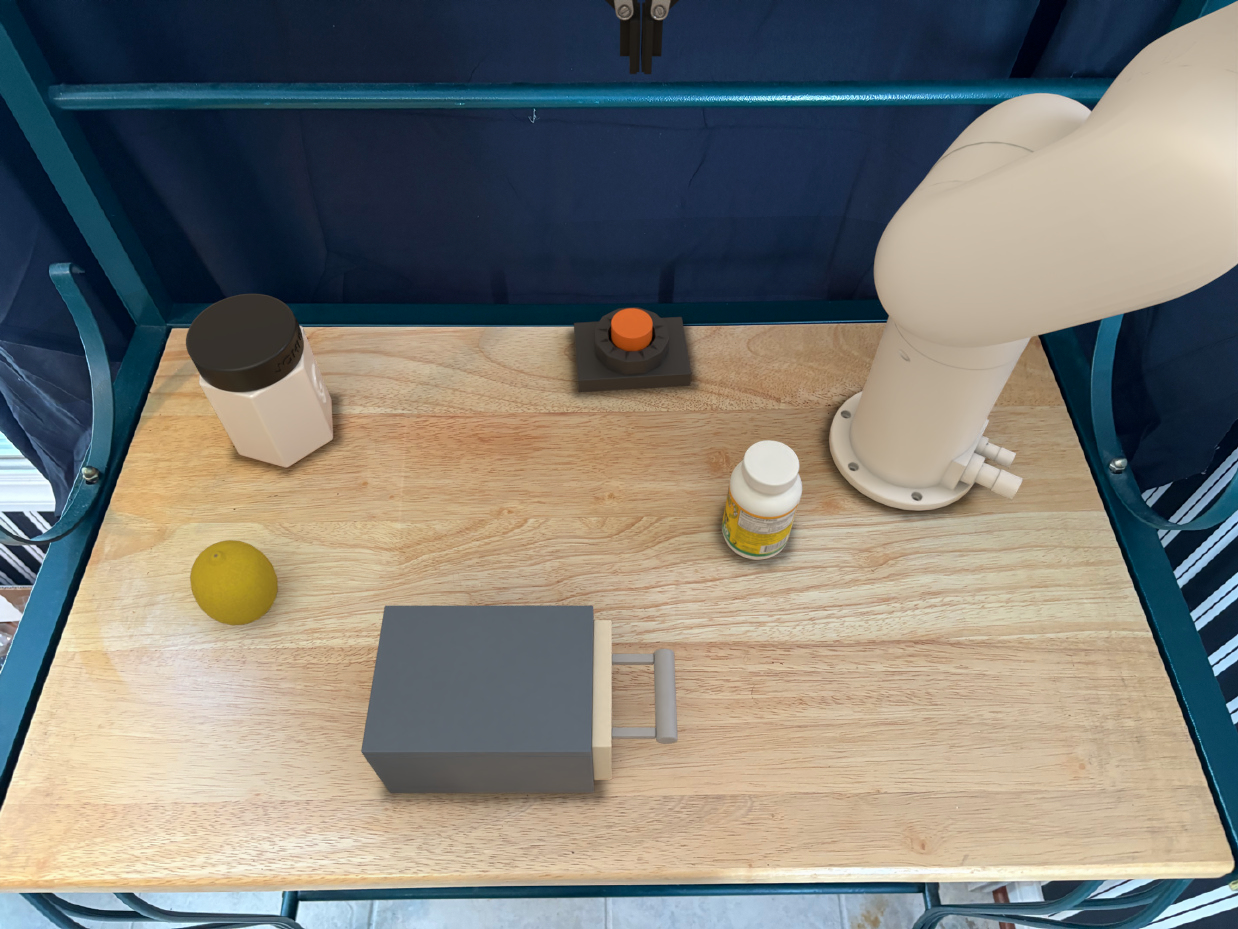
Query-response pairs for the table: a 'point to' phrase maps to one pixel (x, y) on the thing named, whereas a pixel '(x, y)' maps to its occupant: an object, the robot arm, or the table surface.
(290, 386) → the jar
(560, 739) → the cabinet
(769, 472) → the supplement bottle
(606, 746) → the drawer
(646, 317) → the button
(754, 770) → the table surface
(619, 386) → the control block
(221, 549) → the lemon
